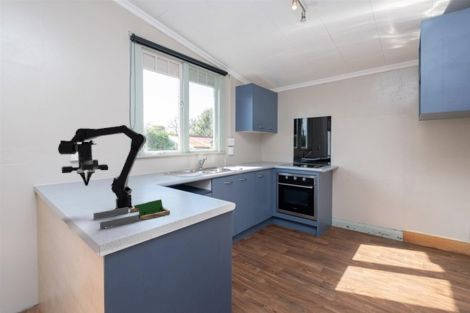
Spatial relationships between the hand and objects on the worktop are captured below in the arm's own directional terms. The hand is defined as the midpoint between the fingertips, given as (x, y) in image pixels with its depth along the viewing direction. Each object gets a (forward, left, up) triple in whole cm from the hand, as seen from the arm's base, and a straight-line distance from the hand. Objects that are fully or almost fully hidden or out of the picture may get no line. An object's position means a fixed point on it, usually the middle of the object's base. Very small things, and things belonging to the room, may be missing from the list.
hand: (86, 185), depth 111 cm
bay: (-22, +26, -12) cm, 36 cm away
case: (-7, +26, -12) cm, 29 cm away
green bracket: (-21, +26, -12) cm, 36 cm away
